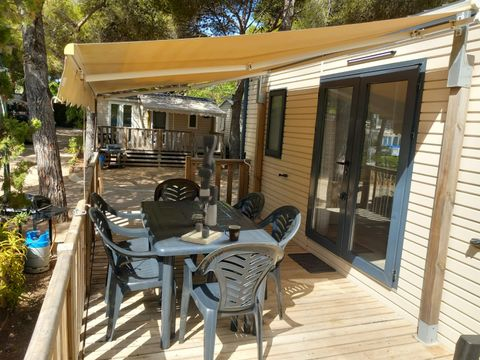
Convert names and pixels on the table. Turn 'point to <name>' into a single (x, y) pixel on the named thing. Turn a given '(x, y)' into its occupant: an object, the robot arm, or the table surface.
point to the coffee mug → (233, 233)
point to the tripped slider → (199, 227)
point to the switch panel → (197, 237)
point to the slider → (205, 233)
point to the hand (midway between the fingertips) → (204, 216)
